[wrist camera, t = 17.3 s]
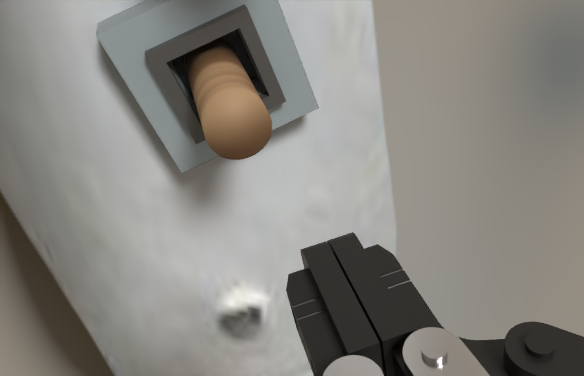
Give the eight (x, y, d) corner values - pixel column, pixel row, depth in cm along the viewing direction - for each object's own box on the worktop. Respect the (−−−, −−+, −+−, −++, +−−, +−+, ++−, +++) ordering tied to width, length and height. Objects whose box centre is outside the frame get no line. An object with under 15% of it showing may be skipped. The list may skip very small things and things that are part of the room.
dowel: (175, 49, 39) (192, 115, 29) (223, 27, 39) (256, 85, 29) (198, 95, 41) (222, 170, 31) (244, 73, 41) (281, 141, 31)
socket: (97, 23, 36) (95, 39, 33) (252, -50, 37) (265, -41, 33) (178, 155, 43) (182, 179, 40) (307, 93, 44) (322, 113, 40)
